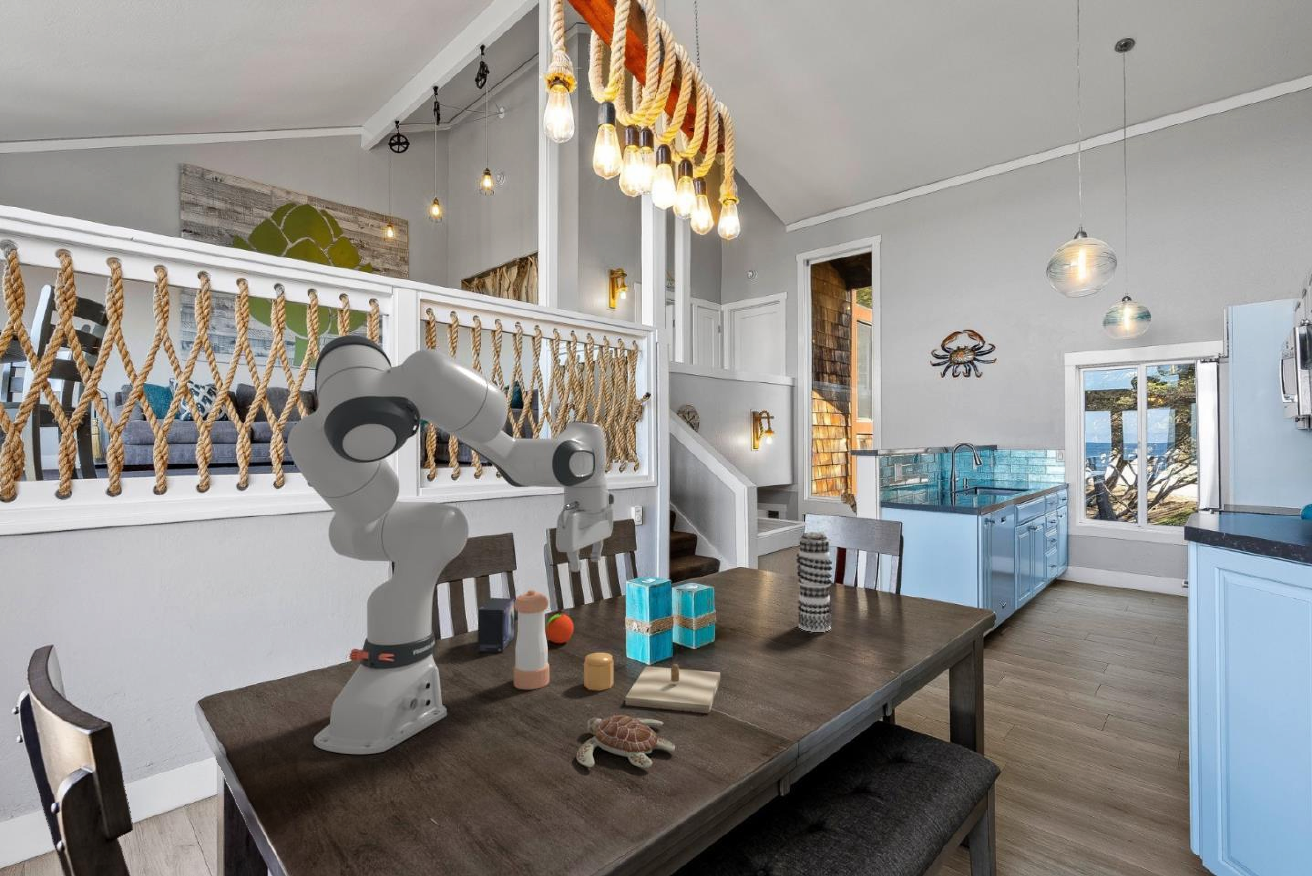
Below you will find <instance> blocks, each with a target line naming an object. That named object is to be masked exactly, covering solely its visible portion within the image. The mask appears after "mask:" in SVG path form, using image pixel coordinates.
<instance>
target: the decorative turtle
mask: <svg viewBox="0 0 1312 876" xmlns="http://www.w3.org/2000/svg"><path fill="white" fill-rule="evenodd" d="M663 724H664V722H663V721H661V720H657V719H651V718H645V717H642V718H641V717H633V716H629V715H625V714H617V715H616V714H615V715H611V716H609V717H604V718H603V719H601V718H598V717H592V718H590V719H589V720H587V722H586V727H587V730H588V732H589V733H590V734H591V735H593V737H591V738H590V739H588V740H586V741H585V742H584V743H583V744H582V745H580V747H579V748H578V749H577V753H576V760H577V762H578V763H579V764H581V765H583V766H585V767H588V768H592V767H594V766H595V764H596V763H595V759H594V756H593V753H594V750H595V748H596V747H599V748H600V749H602V750H604V751H605V752H606V751H607V752H609V753H611V754H614V755H617V756H621V757H626V758H628V761H629V762H630V763H631V764H632V765H633V766H636V767H637V768H638V767H639V768H644V769H645V768H651V767H652V765H653V761H652V759H650V758H649V757H648V756H647V755H646V754H651V753H653V750H654V749H655V748H656V747H657V748H661V749H663V750H667V751H670V752H674V751H675V749H676V746H675V744H674V743H672V742H670V741H669V740H667V739H664V738H661V737H660V736H659V735H658V734H657V733H656V731H655V730H653V729H652V728H651V727H650V726H655V727H662V726H663Z"/></svg>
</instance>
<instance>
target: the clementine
mask: <svg viewBox="0 0 1312 876" xmlns="http://www.w3.org/2000/svg"><path fill="white" fill-rule="evenodd" d="M574 626H575V625H574V623H573V621H572V618H570V617H569V616H567V615H566V614H563V613H556V614H554V615H553V616H551V617H550V618H549V619H548V620H547V622H546V623H545V634H546V636H547V637H546V638H548V639H549V640H550V641H551V642H553V643H555V644H564V643H566V642H567V641H568V640H570V639H571V637H572V636H573V633H574V629H575V627H574Z"/></svg>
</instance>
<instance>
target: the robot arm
mask: <svg viewBox="0 0 1312 876" xmlns="http://www.w3.org/2000/svg"><path fill="white" fill-rule="evenodd" d="M387 355H388V354H387V353H386V352H385V351H384V350H383V348H381V347H380V345H378V344H377V342H375V341H373V340H372V339H369V338H368V337H365V336H361V335H356V334H355V335H354V334H350V335H343V336H342V335H341V336H339V337H335V338H333V339H332V340H330V341H329V342H328V343H326V344H325V345H324V346H323V348H322V349H321V351H320V353H319V355H318V358H317V361H316V364H315V369H314V394H315V396H316V397H317V401H318V408H317V409H316V411H314V412H312V413H311V414H308V415H307V416H305V417H303V418H301V419H300V420H298V422H297V423H295V425H294V426H293V427H292V428H291V430H290V432H289V433H288V436H287V442H286V443H287V449H288V452H289V454H290V456H291V458H292V461H293V463H294V464H295V466H296V467H297V469H298V470H299V471H300V473H301V475H302V476H303V478H304V479H305V480H306V482H307V483H308V484H309V485H310V486H311V488H313V490H314V491H315V492H316V493H317V494H318V495H319V496H320V497H321V498H322V499H323V500H324V502H326V504H327V505H328V506H329V507H330V508H331V509H332V510H333V512H334V513H335V514H334V515H333V517H332V518H331V520H330V522H329V526H328V540H329V543H330V545H331V547H332V549H333V550H334V552H335V553H337V554H338V555H340V556H342V557H347V558H351V559H354V560H358V561H365V562H368V561H369V562H392V563H394V570H393V574H392V577H391V579H389V580H387V581H385V582H383V583H382V584H380V585H378V586H377V587H376V588H374V590H373V591H372V592H371V593H370V594H369V597H368V599H367V601H366V630H367V632H366V635H367V636H366V638H365V640H364V642H363V643H364V644H363V646H362V649H358V648H353V649H351V651H350V653H349V656H348V657H349V660H350V661H351V662H355V661H356V662H357V661H358V662H359V663H360V664H359V666H358V668H356V670H355V671H354V672H353V674H352V676H351V677H350V678H349V680H348V682H347V683H346V684H345V686H344V687H343V688H342V689H341V691H340V692H339V694H338V696H336V698H335V699H334V701H333V702H332V706H331V711H330V722H329V724H328V725H327V726H325V727H324V728H323V729H322V730H321V731H319V732H318V733H317V734H316V735H315V736H314V738H313V744H314V745H315V746H316V748H319V749H321V750H324V751H327V752H333V753H339V754H348V755H349V754H350V755H369V754H370V755H371V754H377V753H382V752H386V751H388V750H390V749H392V748H394V747H395V746H397V745H399V744H401V743H402V742H403V741H405V740H407V739H409V738H410V737H412V736H414V735H416V734H417V733H419V732H421V731H422V730H424V729H426V728H428V727H430V726H432V725H433V724H434V723H437V722H438V721H441V720H442V719H444V718H445V717H447V715H448V711H447V708H446V706H445V705H443V702H442V701H443V700H442V691H441V679H440V673H439V668H438V666H437V664H436V662H435V660H434V656H433V653H434V652H435V643H436V641H435V639H436V638H435V632H434V631H433V629H432V625H433V624H432V622H433V620H432V617H433V614H432V613H433V599H434V591H435V588H436V584H437V582H438V579H439V577H440V575H441V573H442V571H444V569H445V567H446V566H448V564H449V563H450V562H451V561H453V559H455V558H457V557H458V556H459V554H460V553H462V551H463V549H464V548H465V546H466V544H467V542H468V539H469V524H468V521H467V517H466V516H465V515H464V513H463V512H462V510H461V509H460V508H459V507H456V506H452V505H448V504H444V503H438V502H435V501H432V502H431V501H398V500H397V499H398V497H399V493H400V481H399V477H398V475H397V474H396V472H395V470H393V468H392V467H391V466H390V464H389V462H387V460H386V458H388V457H390V456H391V455H393V454H394V453H396V452H397V451H398V450H399V449H401V448H402V447H404V445H405V444H406V443H407V441H408V439H410V438H412V437H414V436H415V435H417V433H418V432H419V428H420V425H421V420H423V421H426V422H427V423H430V424H432V425H433V426H435V427H437V428H439V429H440V430H442V431H444V432H446V433H447V434H449V435H451V436H452V437H454V438H456V439H457V440H458V441H459V442H461V443H462V444H463V445H465V446H466V447H467V448H469V449H470V450H472V451H473V452H475V453H476V454H478V456H480V457H481V458H483V459H485V460H486V461H488V463H490V464H492V466H494V468H495V469H496V470H497V471H498V472H499V474H500V475H501V477H502V478H503V479H504V481H505V482H506V483H508V485H510V486H512V487H515V488H527V487H529V488H530V487H539V488H540V487H541V488H561V489H562V488H563V509H561V512H560V513H559V515H558V517H557V520H556V521H557V522H556V532H555V547H556V548H555V549H557V551H558V552H560V553H566V556H567V559H568V561H569V563H570V571H571V572H572V573H573V572H575V573H577V572H580V571H581V570H582V569H583V568H582V561H580V557H579V555H580V550H581V549H584V548H586V547H588V546H591V545H592V550H591V553H590V561H591V562H593V563H598V562H601V560H602V559H601V557H602V550H603V547H604V540H605V539H608V538H609V537H611V536H612V533H613V530H614V529H613V528H614V506H613V505H614V504H615V502H616V496H615V494H614V493H612V492H610V491H609V490H608V489H607V484H608V483H607V481H606V477H605V476H606V475H605V471H606V467H607V449H606V447H607V446H606V438H605V434H604V430H603V427H602V426H600V425H599V424H597V423H594V422H591V421H582V420H577V421H575V420H574V421H570V422H568V423H567V424H566V426H565V429H564V430H563V431H562V432H561V433H560V434H558V435H556V436H553V438H526V437H513V436H510V435H508V434H507V433H506V432H505V431H504V430H503V428H504V426H505V425H506V424H505V423H506V422H507V419H508V415H509V405H508V399H507V397H506V395H505V393H504V392H503V390H502V389H501V388H500V387H499V386H498V385H497V384H496V383H495V382H493V381H492V380H491V379H489V378H488V377H487V376H485V375H483V374H482V373H481V372H480V371H478V370H477V369H476V368H473V367H472V366H470V365H468V364H467V363H465V362H463V361H461V360H460V359H458V358H455V357H453V356H452V355H449V354H446V353H445V352H442V351H439V350H436V349H433V348H424V349H420V350H417V351H414V352H413V353H412V354H410V355H409V356H408V357H406V359H405V360H404V361H403V362H402V363H401V364H398V365H396V366H392V364H391V363H392V362H391V361H390V359H389V356H387ZM414 428H415V429H414Z"/></svg>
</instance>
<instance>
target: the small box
mask: <svg viewBox="0 0 1312 876" xmlns="http://www.w3.org/2000/svg"><path fill="white" fill-rule="evenodd" d="M514 602H515V598H505V597H502V598H501V597H490V598H489V599H488V600H487V601H486V602H484V604H482V605H481V606H480V607H479V608H478V611H477V612H478V613H477V653H491V654H492V653H494V654H495V653H500V654H501V653H503V652H504V651H505V650H506V649H507V648H508V647H509V645H510V644H511V643H512V641H513V640H514V635H515V632H514V631H515V629H514V628H515V607H514ZM506 647H507V648H506Z"/></svg>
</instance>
